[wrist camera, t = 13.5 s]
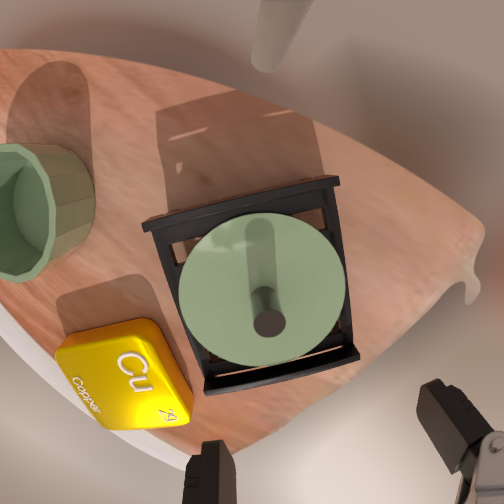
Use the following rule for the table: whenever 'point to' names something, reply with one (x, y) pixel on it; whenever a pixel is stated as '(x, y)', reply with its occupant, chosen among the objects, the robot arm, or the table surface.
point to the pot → (41, 208)
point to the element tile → (126, 376)
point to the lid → (261, 289)
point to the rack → (214, 213)
